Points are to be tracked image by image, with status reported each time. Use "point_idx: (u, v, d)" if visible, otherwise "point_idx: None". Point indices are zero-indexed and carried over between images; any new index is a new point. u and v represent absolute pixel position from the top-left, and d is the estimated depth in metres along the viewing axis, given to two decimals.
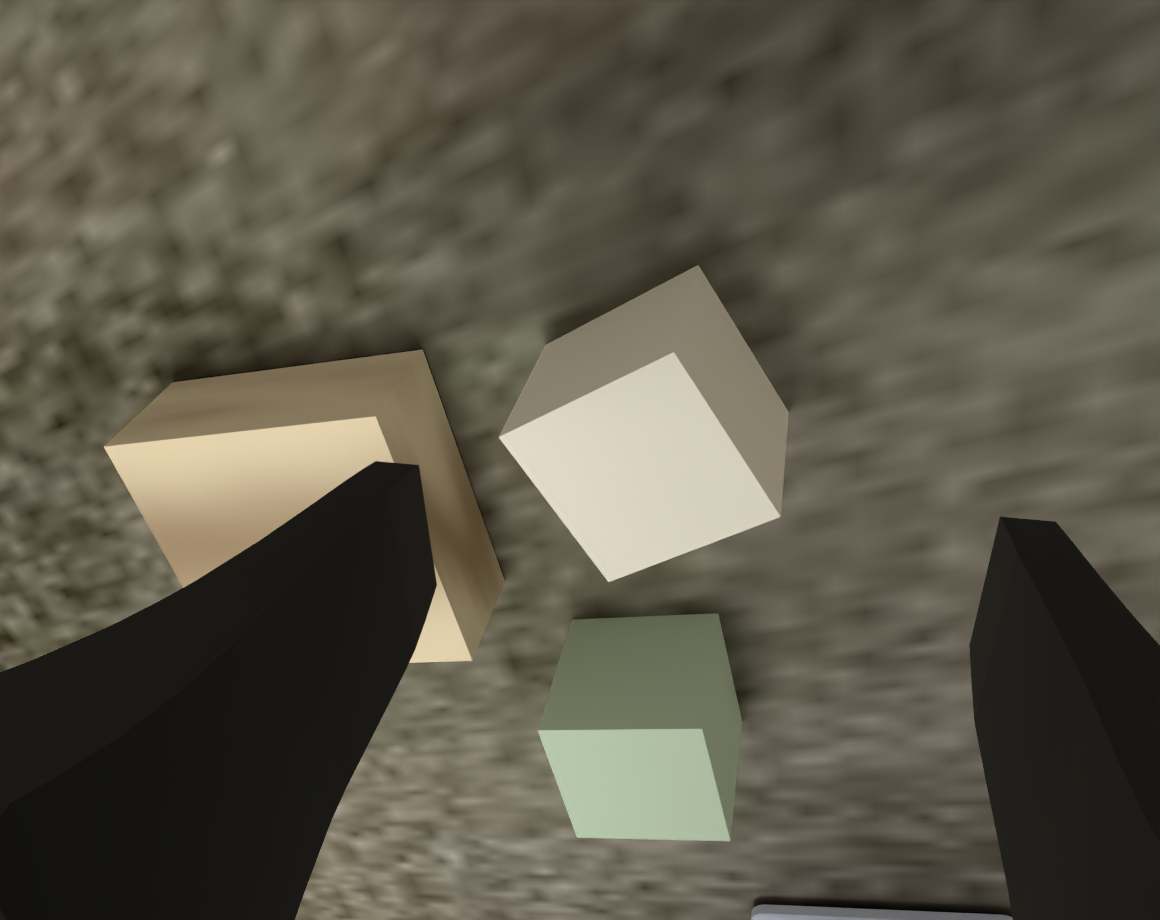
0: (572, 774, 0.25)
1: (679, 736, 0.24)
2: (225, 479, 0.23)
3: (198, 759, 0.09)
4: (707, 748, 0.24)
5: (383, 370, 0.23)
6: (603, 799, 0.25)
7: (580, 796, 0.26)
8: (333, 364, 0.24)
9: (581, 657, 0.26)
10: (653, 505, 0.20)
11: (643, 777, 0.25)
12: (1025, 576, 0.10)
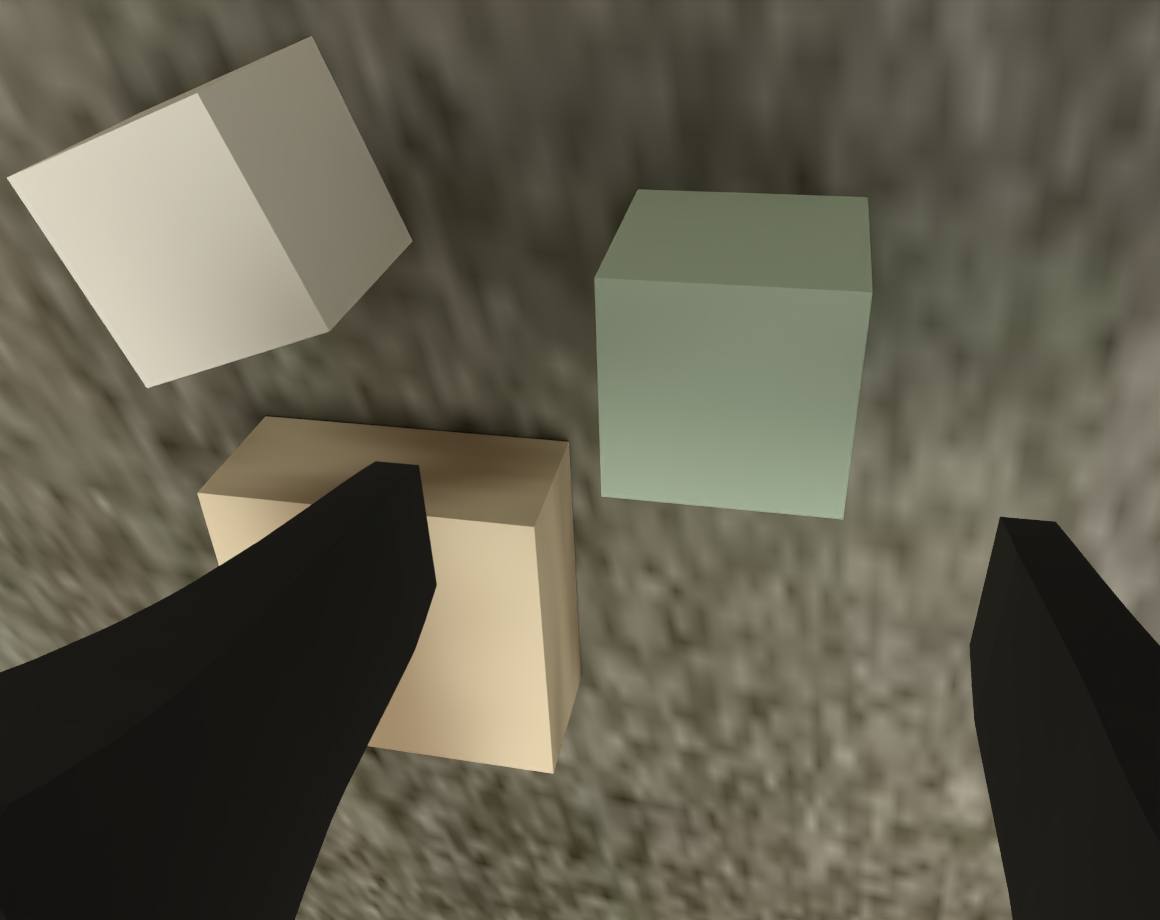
0: (693, 481, 0.17)
1: (611, 313, 0.15)
2: None
3: (196, 759, 0.09)
4: (641, 279, 0.15)
5: None
6: (752, 456, 0.16)
7: (744, 484, 0.17)
8: None
9: None
10: (206, 248, 0.16)
11: (702, 387, 0.16)
12: (1025, 576, 0.10)
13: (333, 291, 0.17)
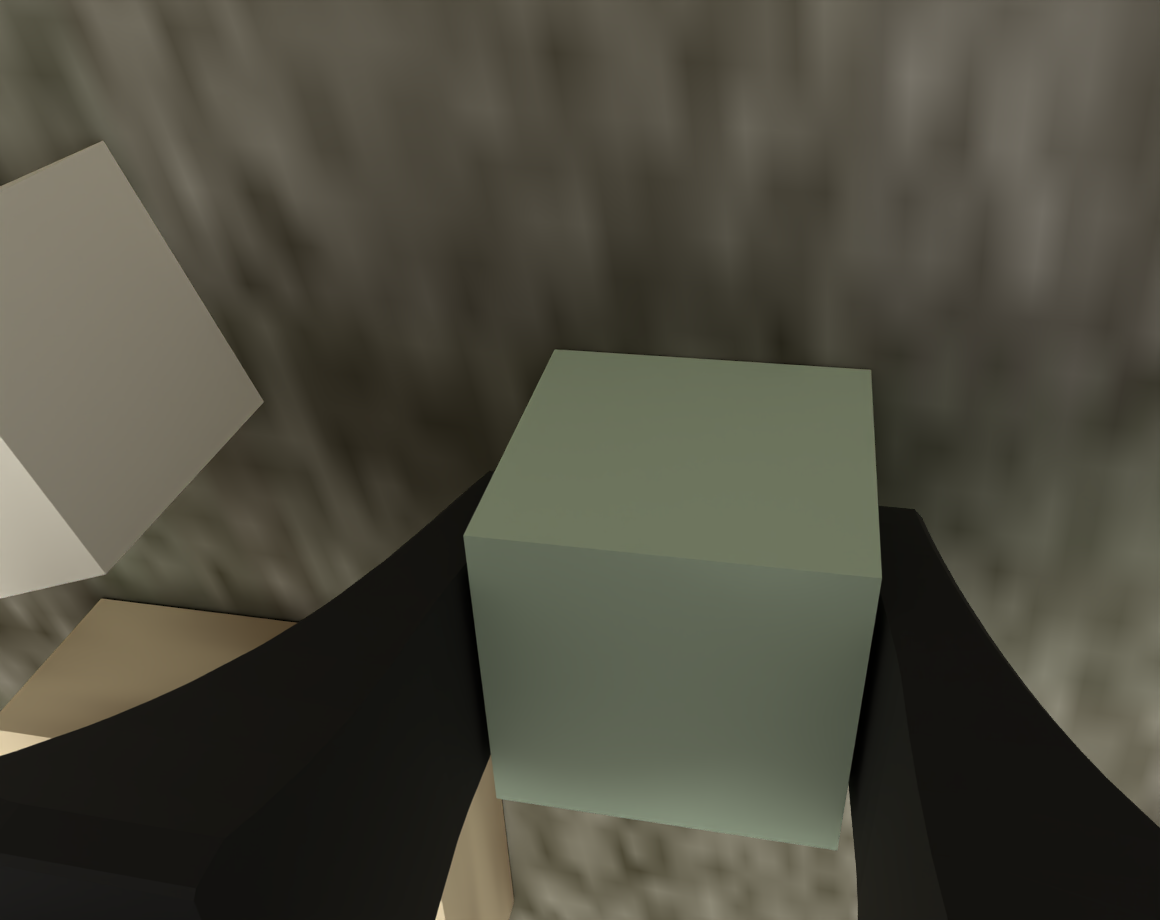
0: (623, 791, 0.12)
1: (491, 582, 0.10)
2: None
3: (363, 785, 0.09)
4: (532, 540, 0.10)
5: None
6: (706, 768, 0.11)
7: (695, 800, 0.12)
8: None
9: None
10: None
11: (630, 680, 0.11)
12: None
13: (117, 510, 0.12)
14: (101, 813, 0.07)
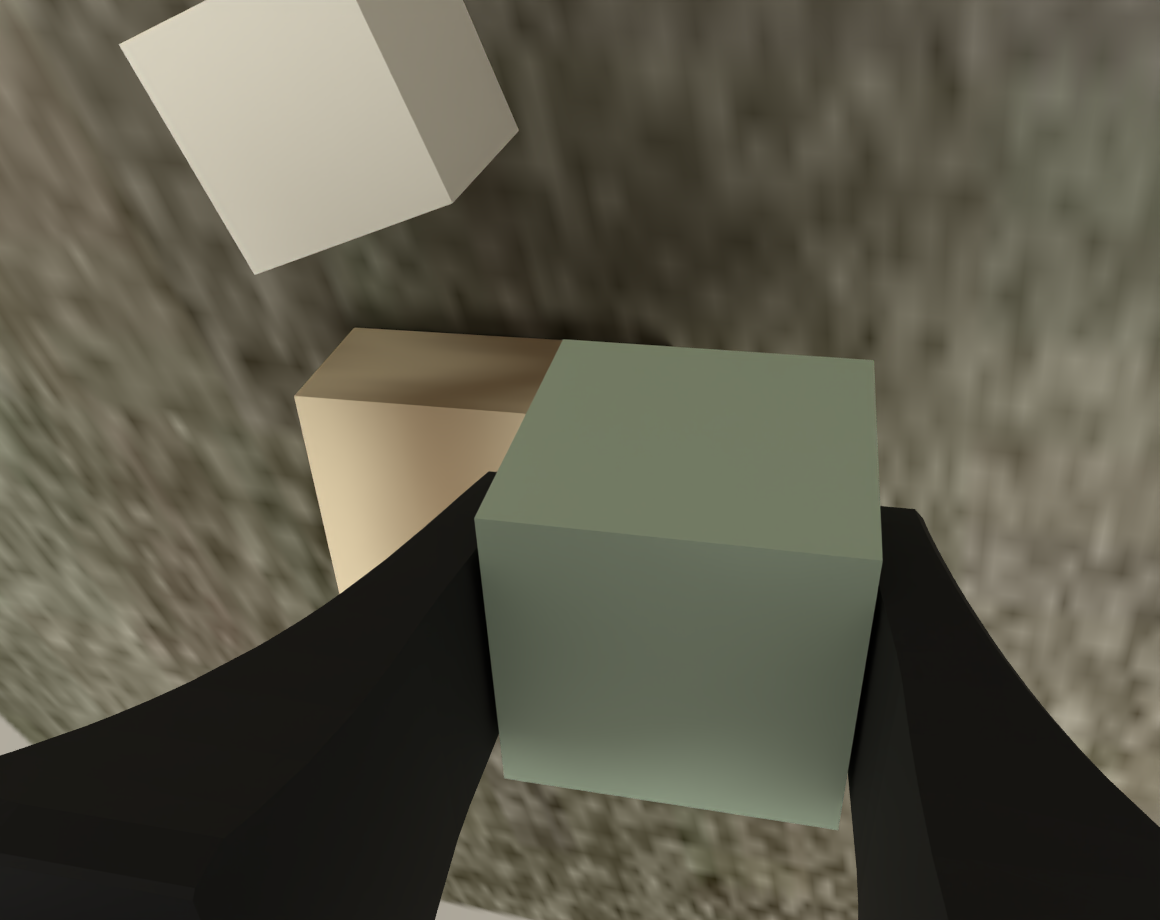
0: (628, 771, 0.12)
1: (502, 564, 0.11)
2: None
3: (362, 785, 0.09)
4: (541, 523, 0.10)
5: None
6: (709, 748, 0.12)
7: (700, 780, 0.12)
8: None
9: None
10: (326, 114, 0.16)
11: (636, 661, 0.11)
12: None
13: (453, 164, 0.16)
14: (100, 813, 0.07)
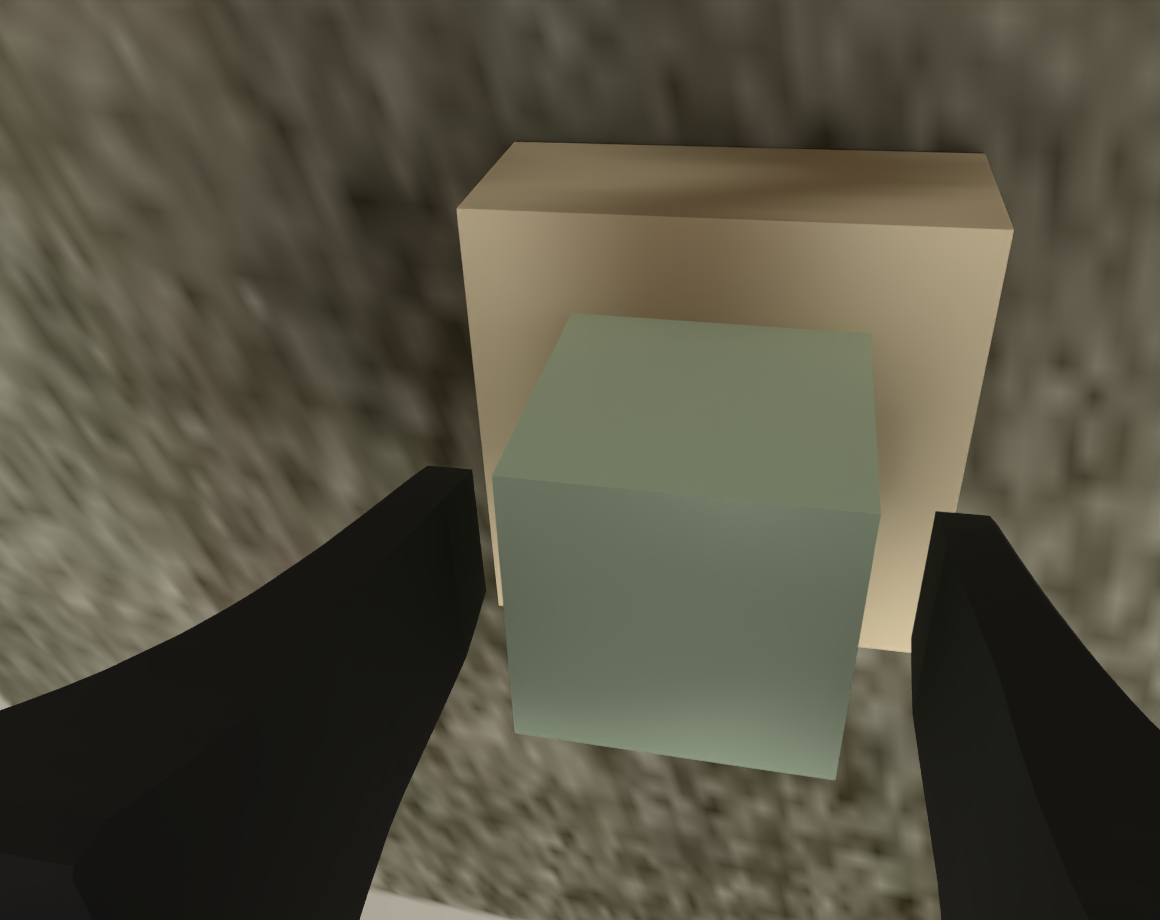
0: (635, 724, 0.13)
1: (517, 521, 0.11)
2: None
3: (273, 770, 0.09)
4: (556, 480, 0.11)
5: None
6: (713, 701, 0.12)
7: (702, 733, 0.12)
8: None
9: None
10: None
11: (644, 616, 0.12)
12: (953, 569, 0.11)
13: None
14: None
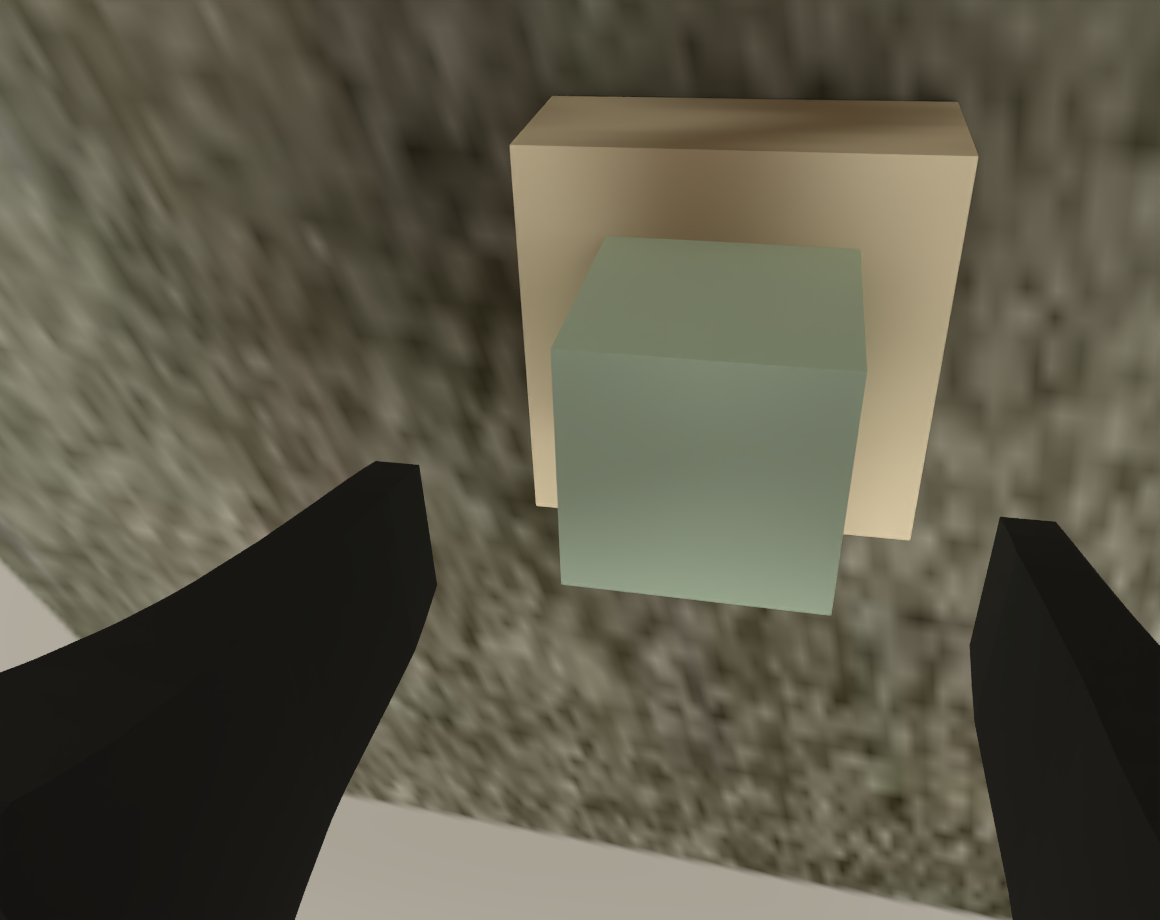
0: (663, 571, 0.15)
1: (570, 389, 0.14)
2: None
3: (198, 759, 0.09)
4: (603, 351, 0.13)
5: None
6: (730, 546, 0.14)
7: (720, 576, 0.15)
8: None
9: None
10: None
11: (673, 470, 0.14)
12: (1025, 576, 0.10)
13: None
14: None
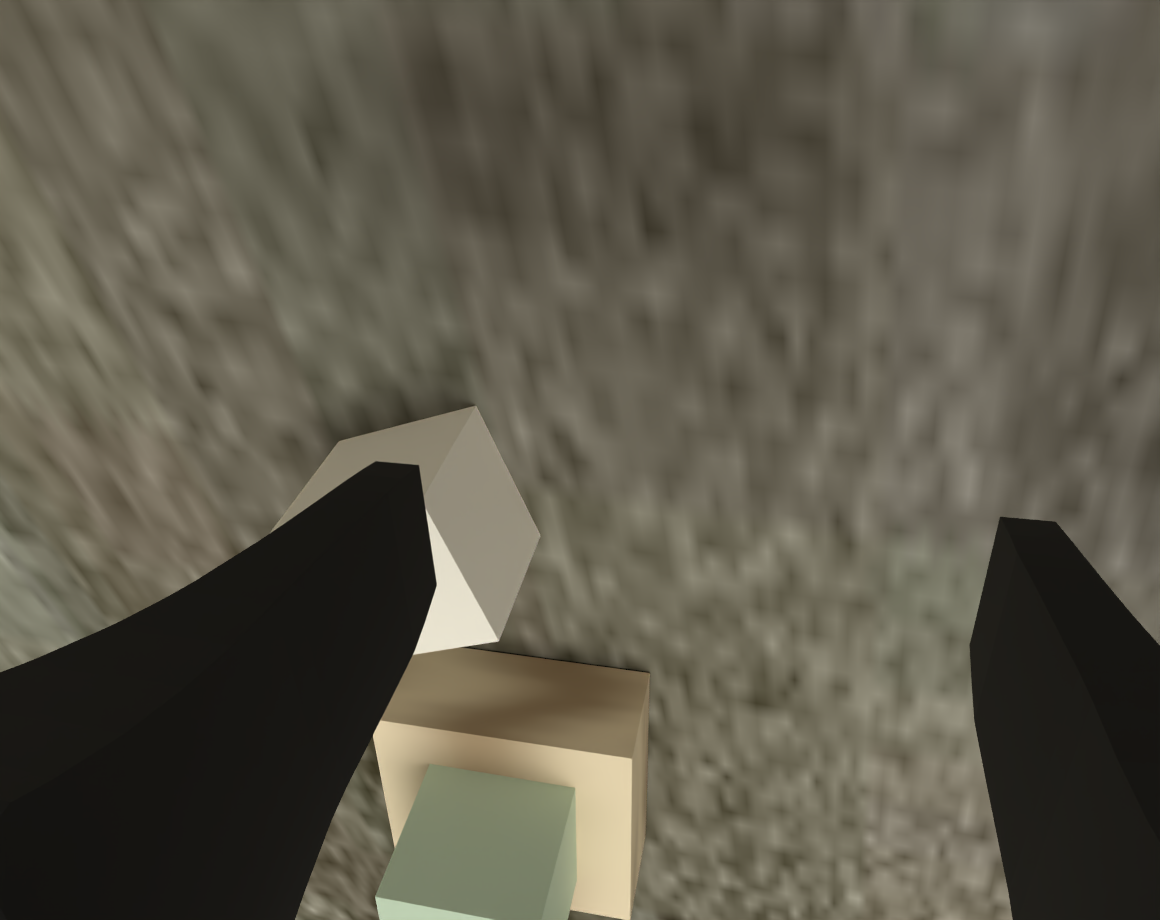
0: None
1: (387, 912, 0.25)
2: None
3: (196, 760, 0.09)
4: (403, 900, 0.24)
5: None
6: None
7: None
8: None
9: None
10: None
11: None
12: (1025, 576, 0.10)
13: (499, 607, 0.23)
14: None
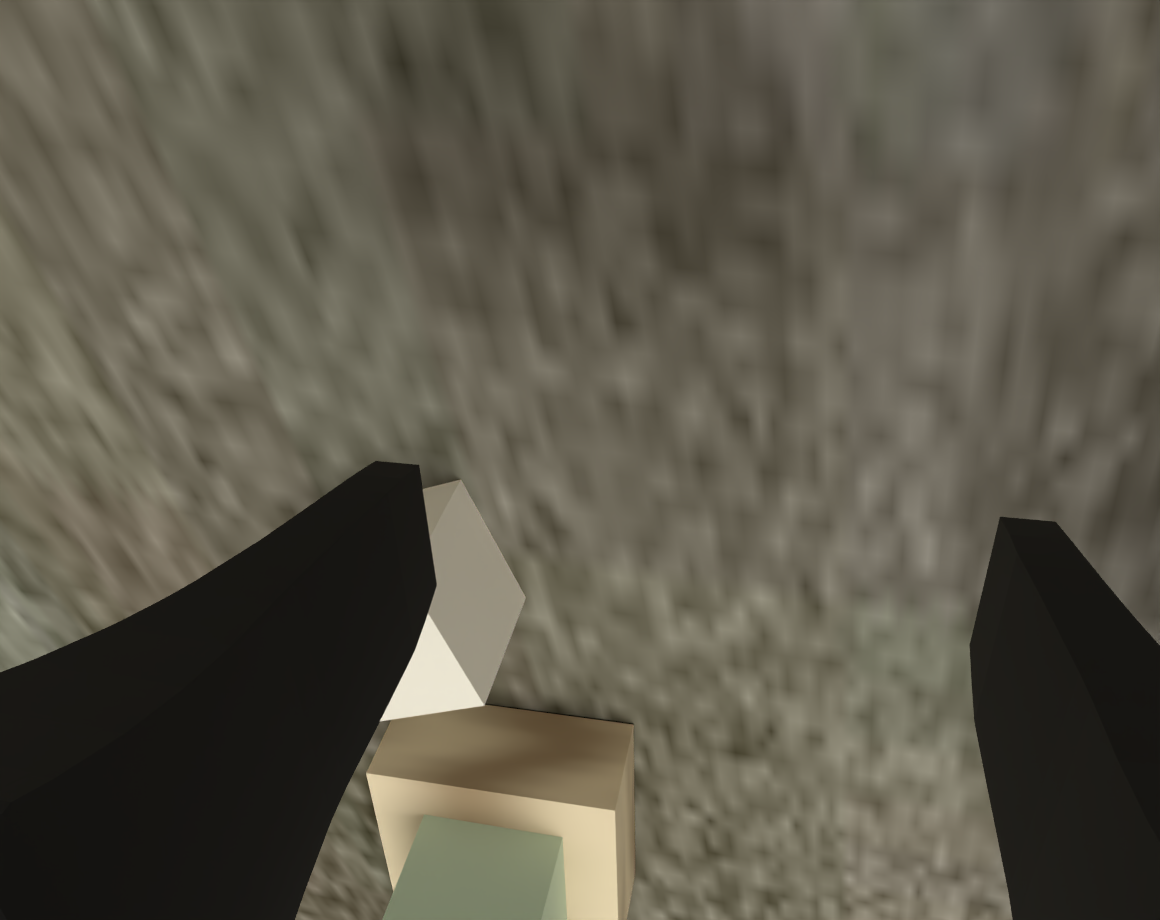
0: None
1: None
2: None
3: (198, 759, 0.09)
4: None
5: None
6: None
7: None
8: None
9: None
10: None
11: None
12: (1025, 576, 0.10)
13: (484, 673, 0.25)
14: None
